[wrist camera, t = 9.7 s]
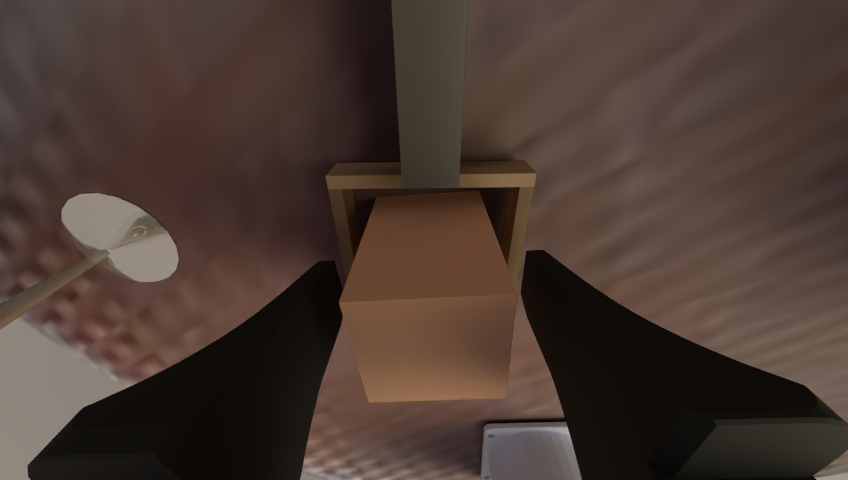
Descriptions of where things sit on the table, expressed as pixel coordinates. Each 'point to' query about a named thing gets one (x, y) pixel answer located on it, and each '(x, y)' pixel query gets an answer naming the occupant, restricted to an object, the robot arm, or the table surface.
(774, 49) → the table surface
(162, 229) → the wineglass
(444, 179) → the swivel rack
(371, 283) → the block
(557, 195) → the table surface
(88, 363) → the table surface
